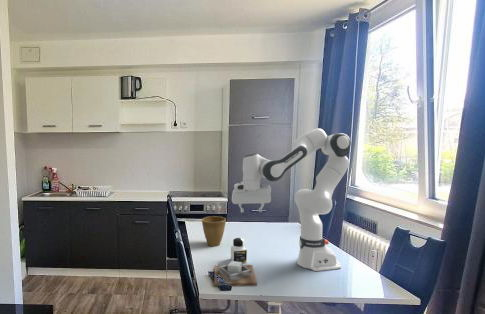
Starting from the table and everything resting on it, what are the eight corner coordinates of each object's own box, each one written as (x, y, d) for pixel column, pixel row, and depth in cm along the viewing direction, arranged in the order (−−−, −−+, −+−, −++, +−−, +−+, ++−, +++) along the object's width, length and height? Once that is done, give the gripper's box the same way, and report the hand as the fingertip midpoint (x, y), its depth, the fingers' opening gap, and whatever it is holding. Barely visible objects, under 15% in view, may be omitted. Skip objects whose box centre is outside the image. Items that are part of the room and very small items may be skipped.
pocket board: (252, 267, 148) (252, 260, 148) (256, 285, 129) (257, 277, 129) (214, 267, 147) (215, 260, 147) (214, 286, 128) (214, 278, 128)
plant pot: (227, 240, 188) (227, 216, 187) (223, 249, 173) (223, 222, 172) (204, 239, 189) (204, 215, 188) (198, 247, 174) (199, 221, 174)
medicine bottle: (233, 264, 152) (234, 241, 151) (230, 258, 159) (230, 237, 158) (246, 262, 154) (247, 240, 153) (243, 257, 161) (243, 236, 160)
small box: (230, 270, 141) (230, 260, 141) (241, 271, 140) (242, 261, 140) (227, 275, 136) (227, 265, 136) (238, 277, 134) (239, 266, 134)
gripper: (270, 183, 153) (270, 209, 154) (231, 184, 151) (231, 211, 152) (272, 185, 147) (272, 212, 147) (232, 186, 145) (232, 214, 145)
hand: (251, 211), depth 149 cm, fingers open, 8 cm apart
